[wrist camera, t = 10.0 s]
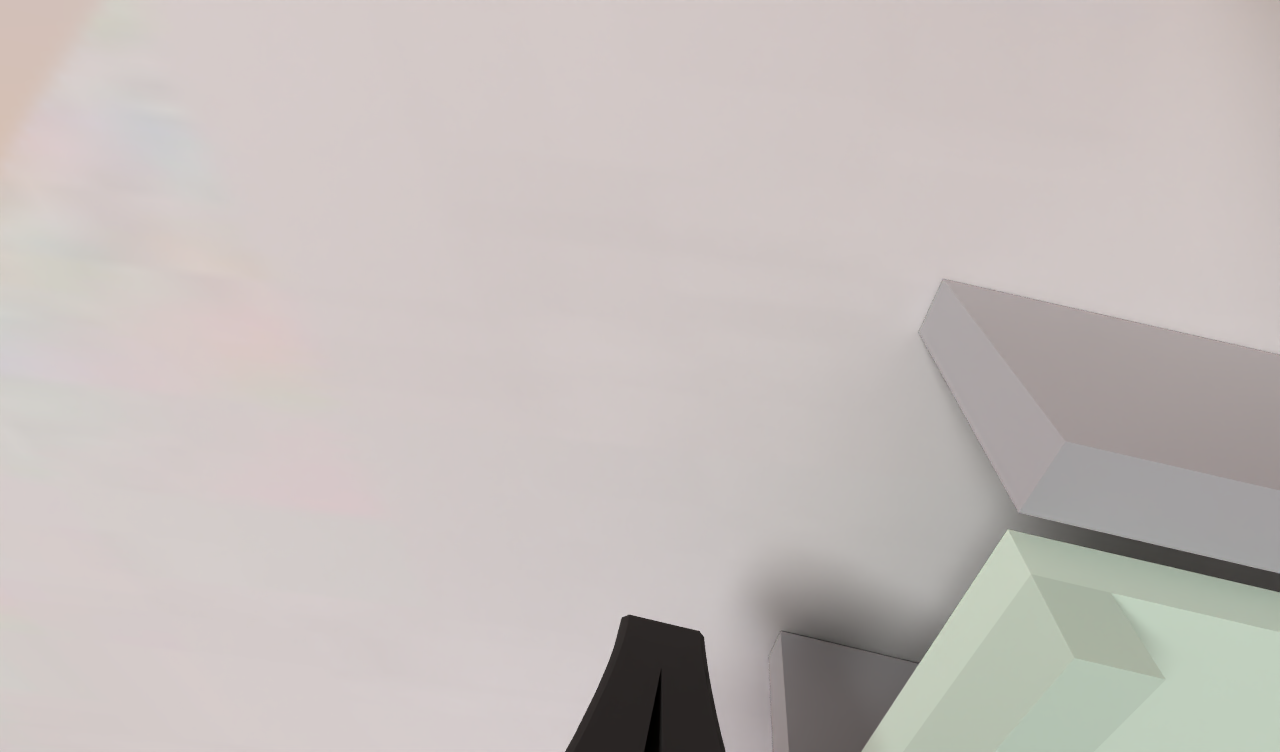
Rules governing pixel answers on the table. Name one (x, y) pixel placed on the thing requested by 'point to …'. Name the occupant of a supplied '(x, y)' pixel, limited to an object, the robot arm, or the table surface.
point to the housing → (1072, 464)
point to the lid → (1093, 660)
